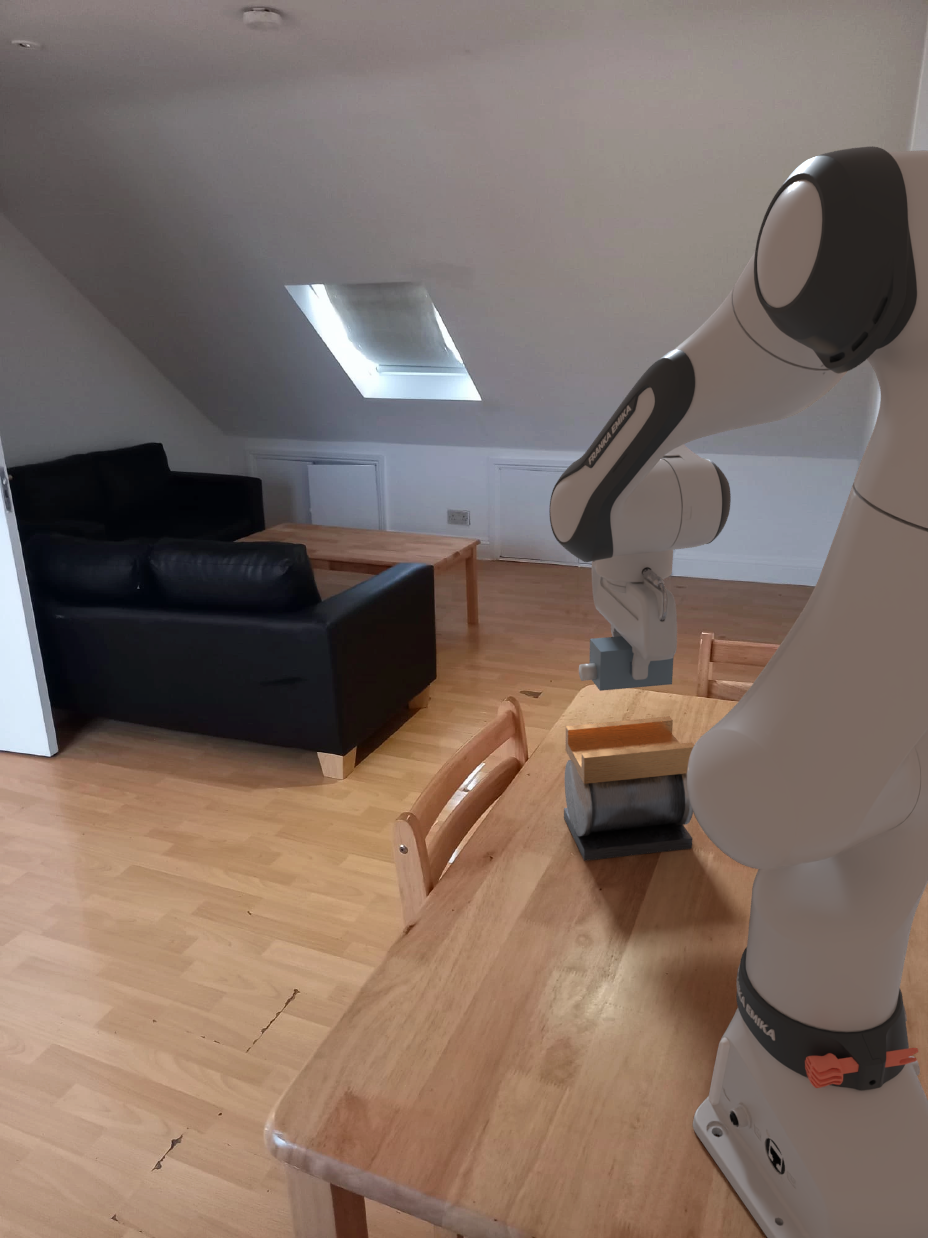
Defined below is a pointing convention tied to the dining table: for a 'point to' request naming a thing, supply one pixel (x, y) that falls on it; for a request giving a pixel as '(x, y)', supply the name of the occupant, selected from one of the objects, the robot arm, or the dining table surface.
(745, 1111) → the robot arm
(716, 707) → the dining table surface
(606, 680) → the blue-grey rectangular block
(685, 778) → the wood-topped grey cylinder
